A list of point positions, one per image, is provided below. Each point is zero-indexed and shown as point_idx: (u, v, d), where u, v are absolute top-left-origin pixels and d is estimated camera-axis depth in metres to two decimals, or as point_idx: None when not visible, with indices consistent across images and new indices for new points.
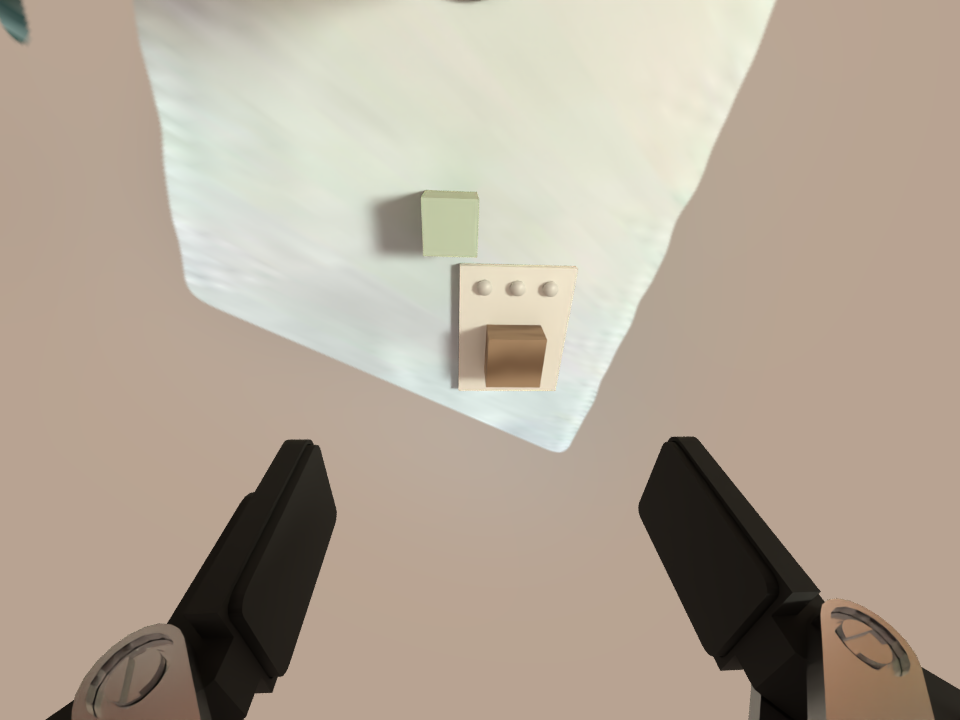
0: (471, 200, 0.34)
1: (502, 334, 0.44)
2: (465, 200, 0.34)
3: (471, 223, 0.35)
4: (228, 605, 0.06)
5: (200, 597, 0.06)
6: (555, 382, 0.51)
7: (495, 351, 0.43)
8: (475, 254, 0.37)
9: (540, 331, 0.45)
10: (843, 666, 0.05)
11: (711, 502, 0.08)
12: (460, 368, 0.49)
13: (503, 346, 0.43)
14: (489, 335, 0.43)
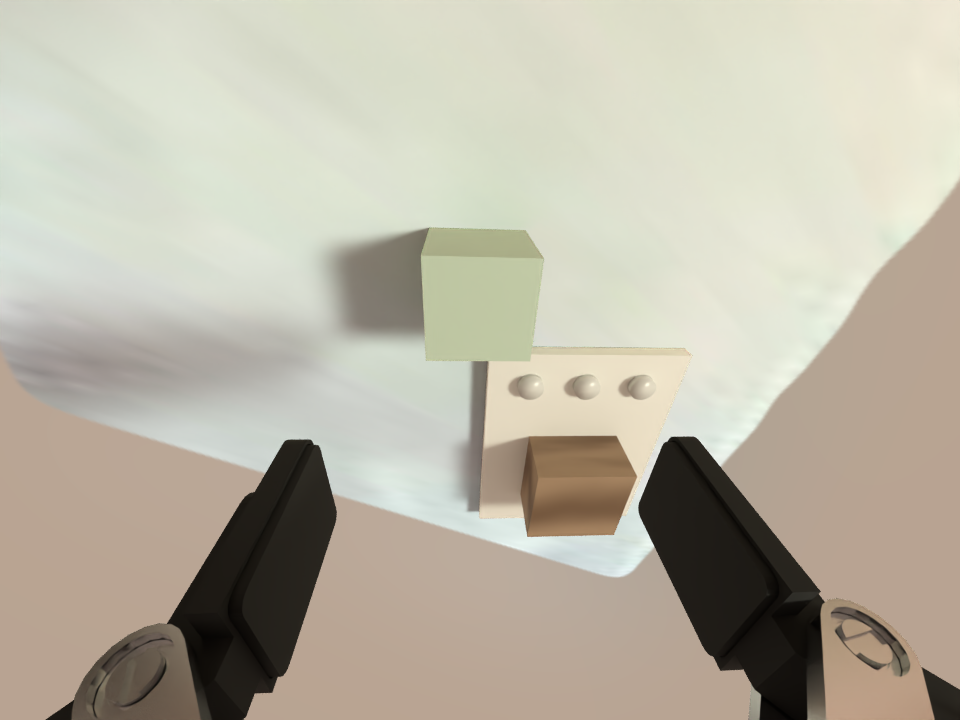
0: (527, 260, 0.16)
1: (559, 461, 0.26)
2: (515, 260, 0.16)
3: (523, 303, 0.17)
4: (228, 605, 0.06)
5: (200, 597, 0.06)
6: (627, 506, 0.34)
7: (548, 493, 0.26)
8: (527, 356, 0.19)
9: (620, 452, 0.27)
10: (843, 666, 0.05)
11: (711, 502, 0.08)
12: (483, 492, 0.32)
13: (562, 486, 0.25)
14: (537, 466, 0.26)
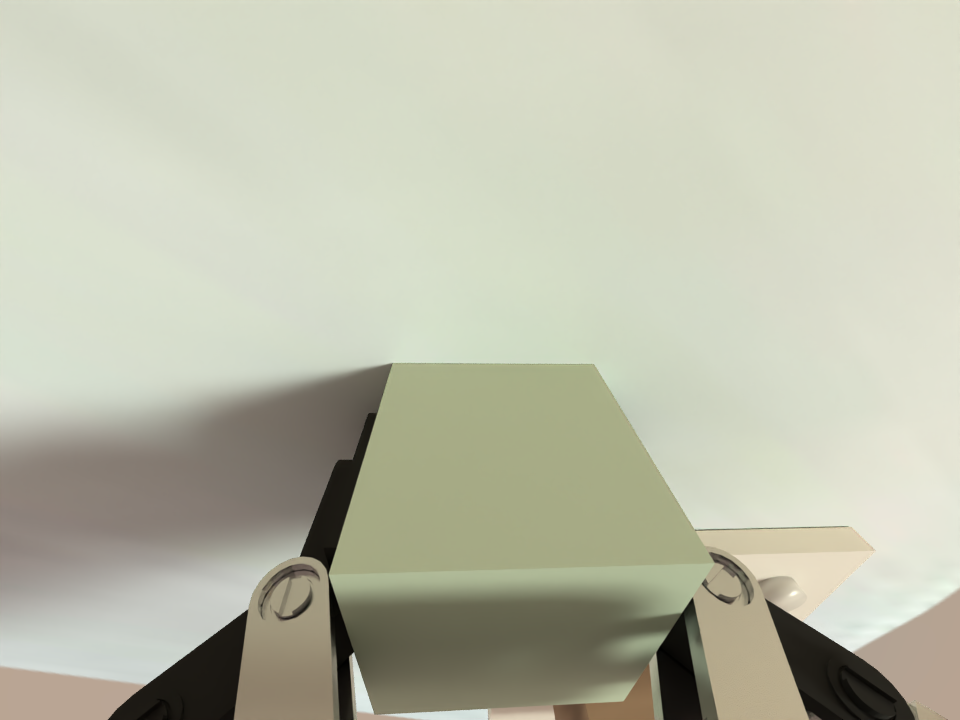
0: (664, 568, 0.05)
1: None
2: (626, 571, 0.05)
3: (630, 635, 0.06)
4: None
5: (333, 535, 0.07)
6: None
7: None
8: (618, 695, 0.08)
9: None
10: (711, 614, 0.06)
11: None
12: None
13: None
14: None
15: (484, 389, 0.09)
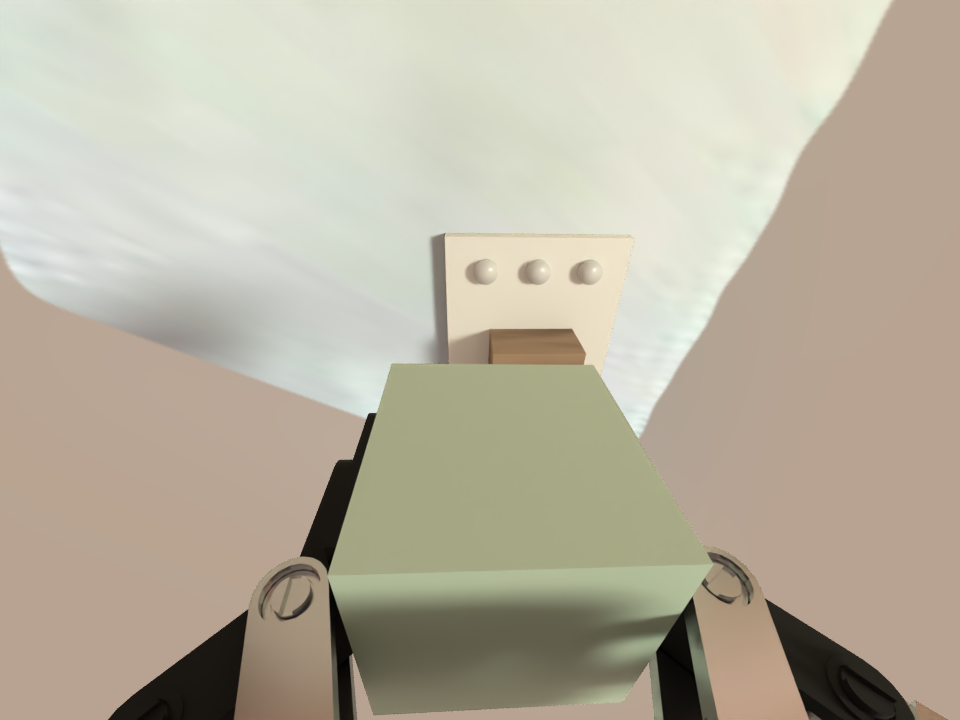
0: (663, 569, 0.05)
1: (514, 344, 0.28)
2: (625, 572, 0.05)
3: (629, 636, 0.06)
4: None
5: (333, 535, 0.07)
6: None
7: None
8: (617, 696, 0.08)
9: (573, 338, 0.29)
10: (711, 614, 0.06)
11: None
12: None
13: None
14: (494, 347, 0.28)
15: (483, 390, 0.09)
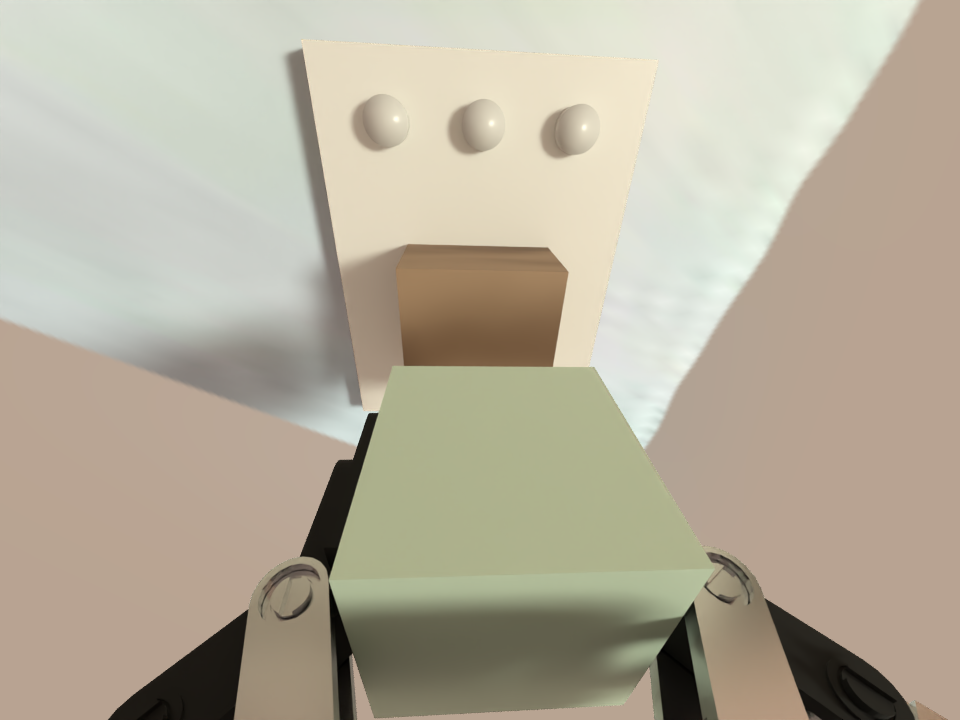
0: (664, 573, 0.05)
1: (441, 259, 0.16)
2: (627, 576, 0.05)
3: (630, 640, 0.06)
4: None
5: (333, 535, 0.07)
6: None
7: (420, 307, 0.15)
8: (618, 699, 0.08)
9: (548, 256, 0.17)
10: (711, 614, 0.06)
11: None
12: (359, 360, 0.21)
13: (442, 292, 0.15)
14: (402, 261, 0.15)
15: (484, 392, 0.09)
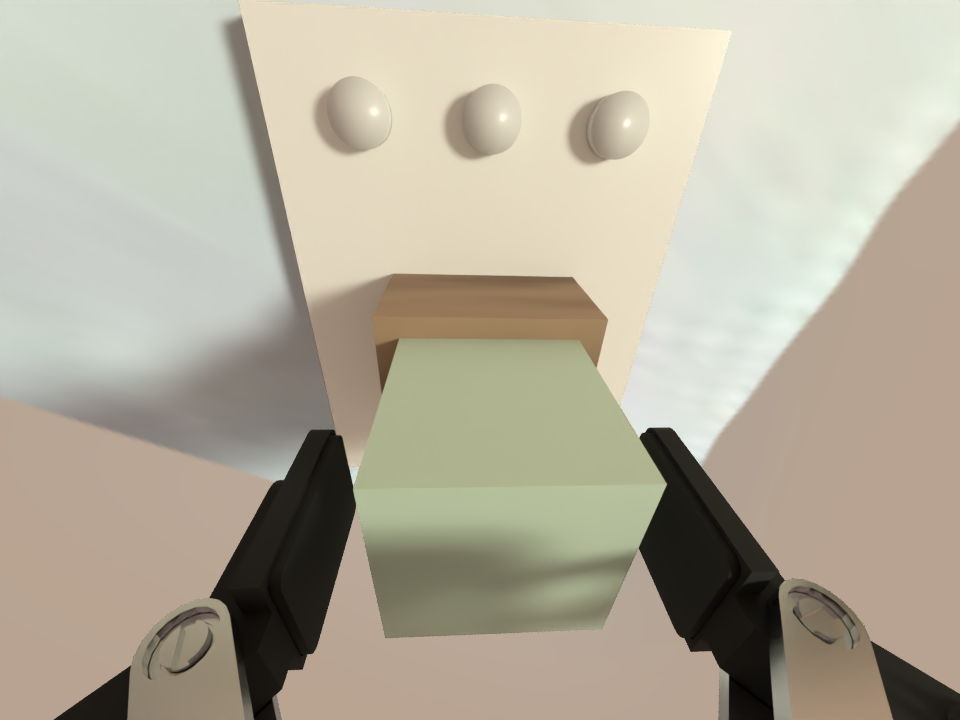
0: (625, 488, 0.06)
1: (435, 299, 0.12)
2: (594, 490, 0.06)
3: (602, 556, 0.08)
4: (268, 581, 0.06)
5: (242, 573, 0.06)
6: None
7: None
8: (597, 623, 0.09)
9: (575, 292, 0.13)
10: (802, 646, 0.06)
11: (682, 489, 0.08)
12: (336, 411, 0.17)
13: None
14: (383, 303, 0.11)
15: (480, 359, 0.10)
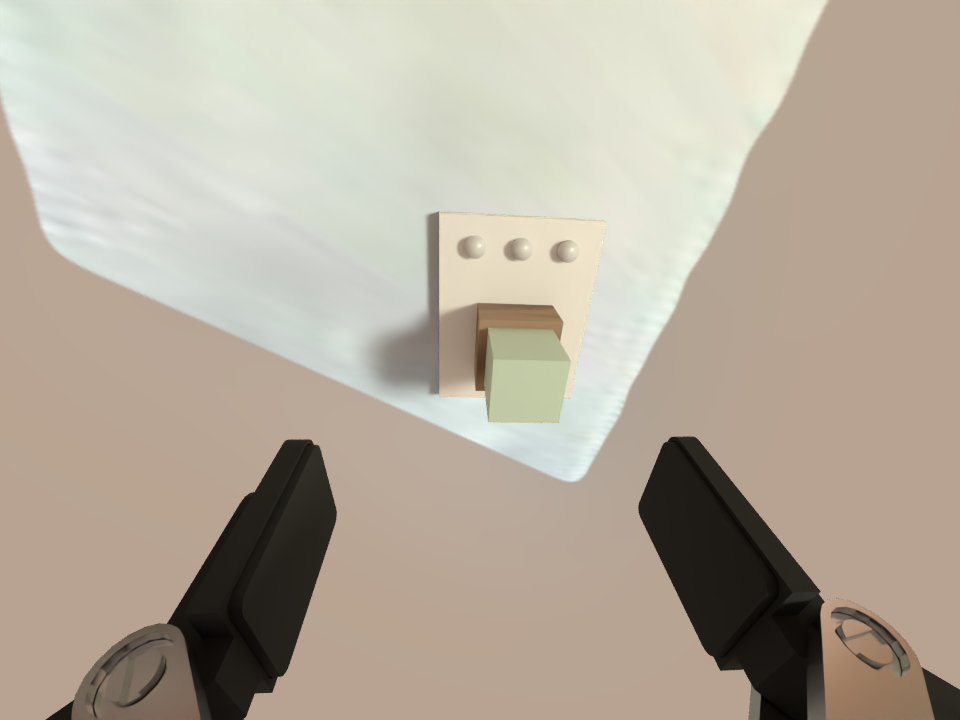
0: (560, 362, 0.25)
1: (499, 313, 0.31)
2: (552, 362, 0.25)
3: (556, 387, 0.26)
4: (228, 605, 0.06)
5: (200, 597, 0.06)
6: (570, 387, 0.38)
7: None
8: (556, 419, 0.28)
9: (553, 312, 0.32)
10: (843, 666, 0.05)
11: (711, 502, 0.08)
12: (441, 365, 0.36)
13: None
14: (480, 315, 0.30)
15: (518, 334, 0.29)
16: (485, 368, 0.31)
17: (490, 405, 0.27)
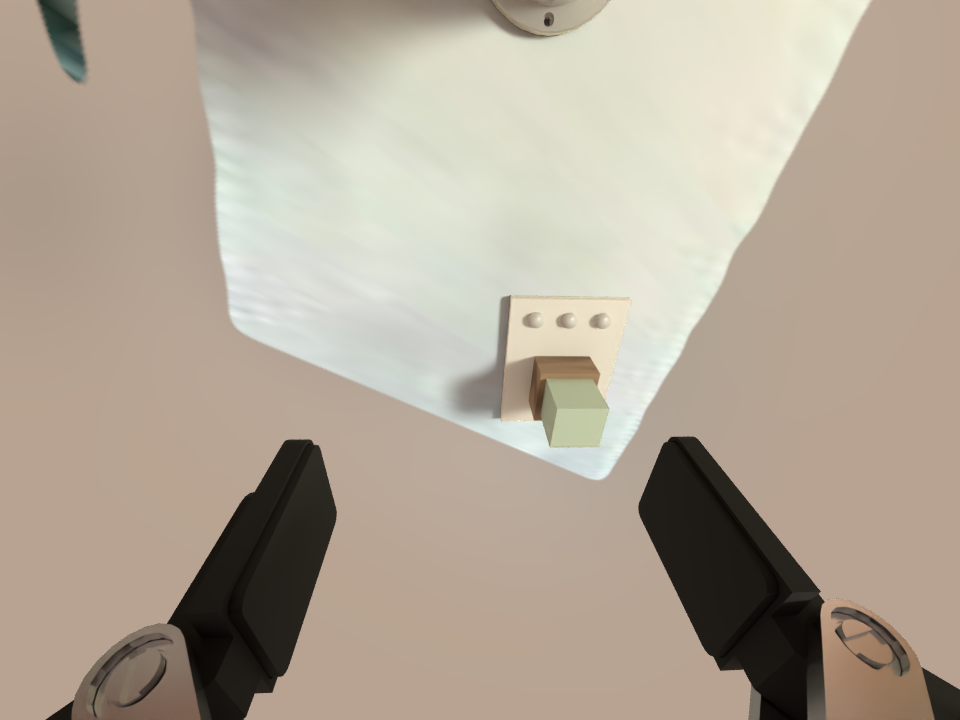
0: (602, 409, 0.37)
1: (553, 367, 0.43)
2: (597, 409, 0.37)
3: (598, 424, 0.38)
4: (228, 605, 0.06)
5: (200, 597, 0.06)
6: None
7: None
8: (597, 445, 0.40)
9: (591, 363, 0.44)
10: (843, 666, 0.05)
11: (711, 502, 0.08)
12: (504, 399, 0.48)
13: None
14: (540, 369, 0.42)
15: (569, 384, 0.41)
16: (542, 405, 0.43)
17: (552, 437, 0.39)
